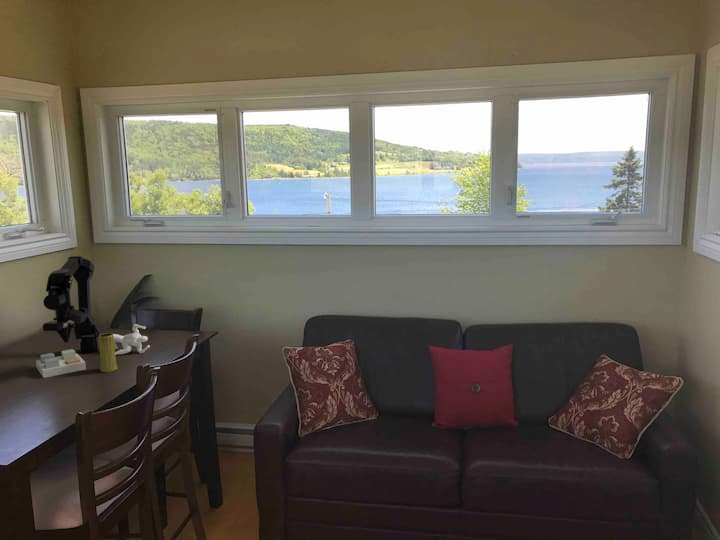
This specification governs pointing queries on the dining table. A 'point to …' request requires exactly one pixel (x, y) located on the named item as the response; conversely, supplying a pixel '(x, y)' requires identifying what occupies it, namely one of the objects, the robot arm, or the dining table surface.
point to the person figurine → (131, 341)
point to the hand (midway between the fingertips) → (66, 342)
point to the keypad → (60, 367)
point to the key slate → (46, 356)
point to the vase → (107, 352)
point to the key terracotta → (72, 360)
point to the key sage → (68, 354)
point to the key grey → (51, 362)
